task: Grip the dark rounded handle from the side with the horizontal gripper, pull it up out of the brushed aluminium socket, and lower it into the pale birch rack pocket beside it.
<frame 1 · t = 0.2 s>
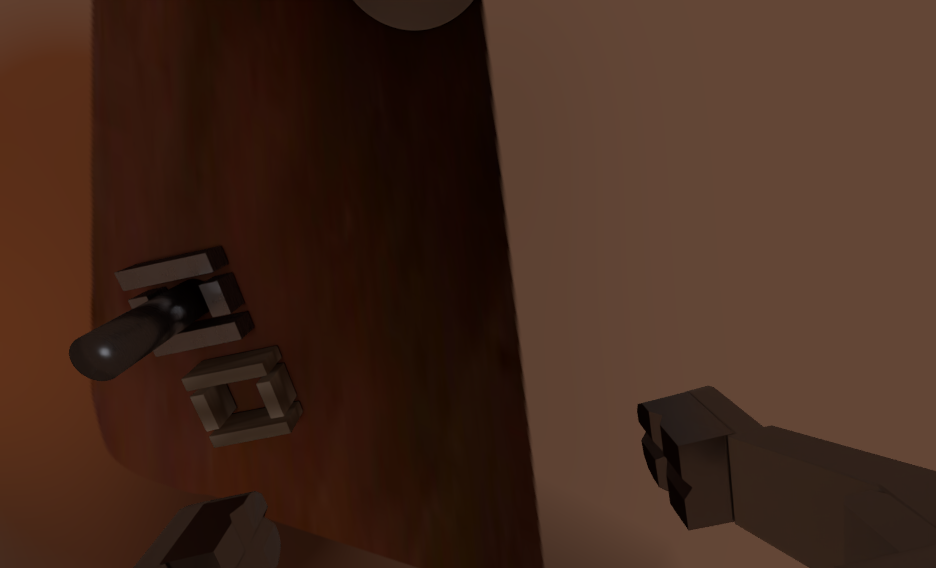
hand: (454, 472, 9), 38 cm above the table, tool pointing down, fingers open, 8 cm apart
rack: (253, 386, 52), on the table
socket: (196, 296, 48), on the table
dark rounded handle: (154, 322, 41), in the socket
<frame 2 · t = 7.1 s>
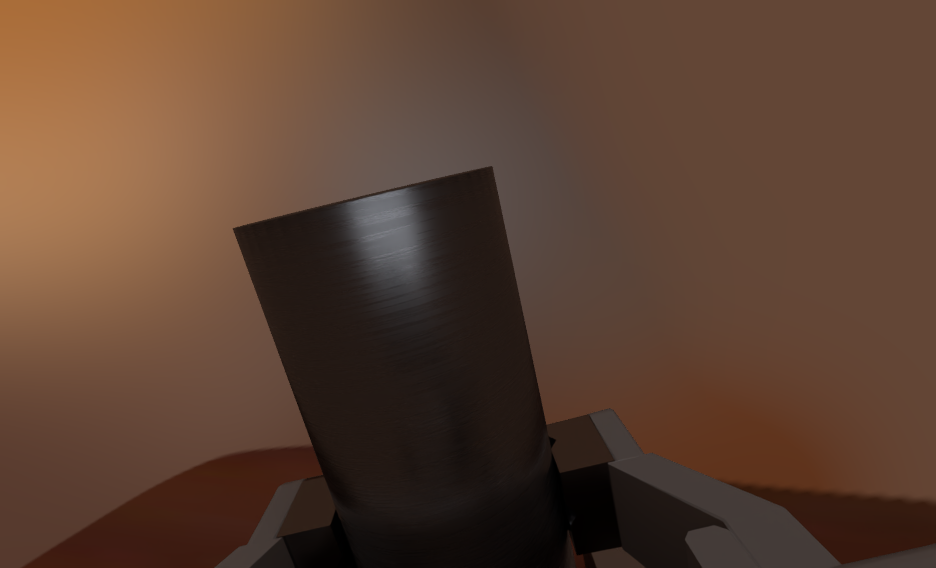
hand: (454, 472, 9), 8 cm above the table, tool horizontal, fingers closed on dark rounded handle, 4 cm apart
dark rounded handle: (467, 546, 9), in the socket, touching gripper
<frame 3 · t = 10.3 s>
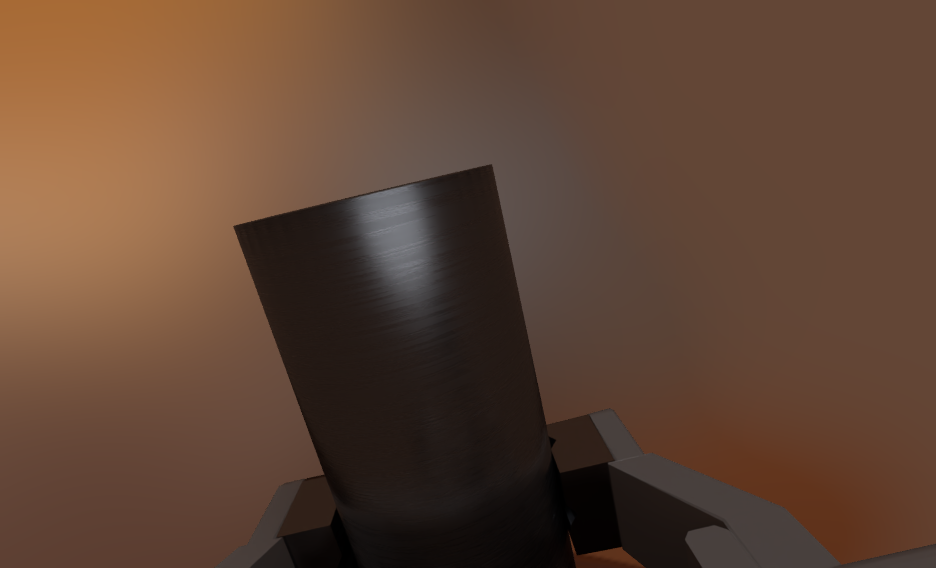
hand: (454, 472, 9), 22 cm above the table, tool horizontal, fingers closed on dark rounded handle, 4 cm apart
dark rounded handle: (467, 543, 9), point 21 cm above the table, touching gripper
when the fingers open (9 cm above the table, at t = 13.4 s): dark rounded handle drops 1 cm, resting in rack.
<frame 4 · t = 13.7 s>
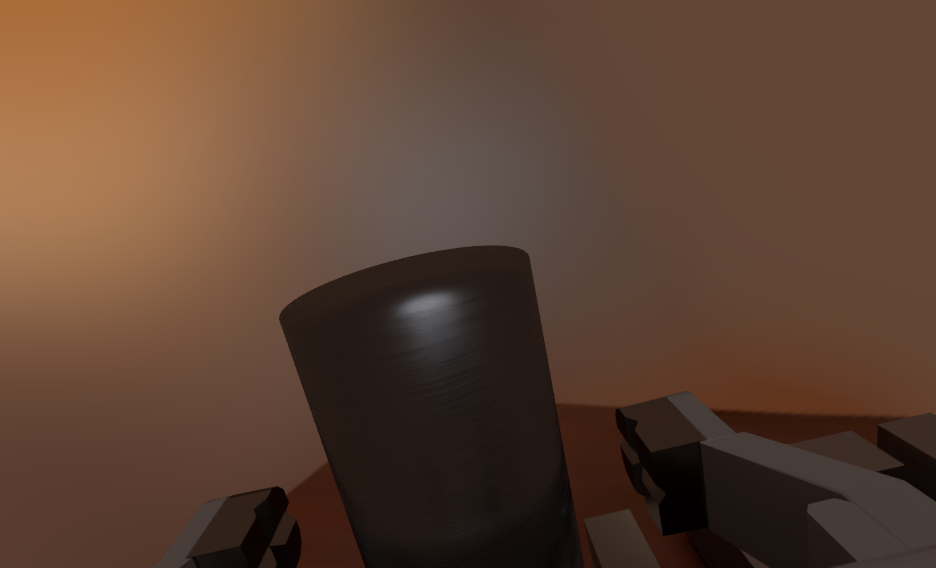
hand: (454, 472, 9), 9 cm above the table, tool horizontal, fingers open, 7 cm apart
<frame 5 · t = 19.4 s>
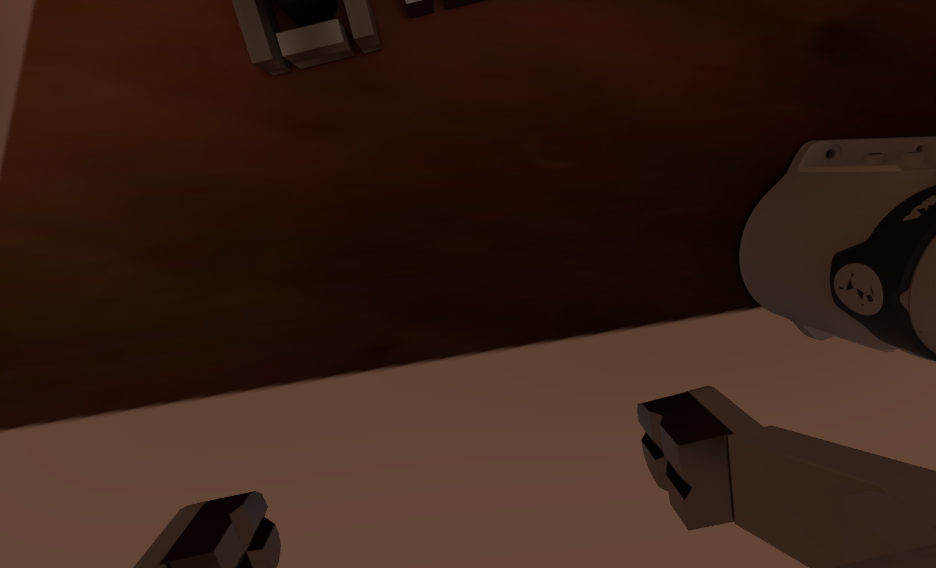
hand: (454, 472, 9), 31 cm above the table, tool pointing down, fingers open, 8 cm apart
rack: (310, 0, 34), on the table
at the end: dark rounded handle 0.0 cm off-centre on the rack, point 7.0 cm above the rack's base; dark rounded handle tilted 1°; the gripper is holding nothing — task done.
